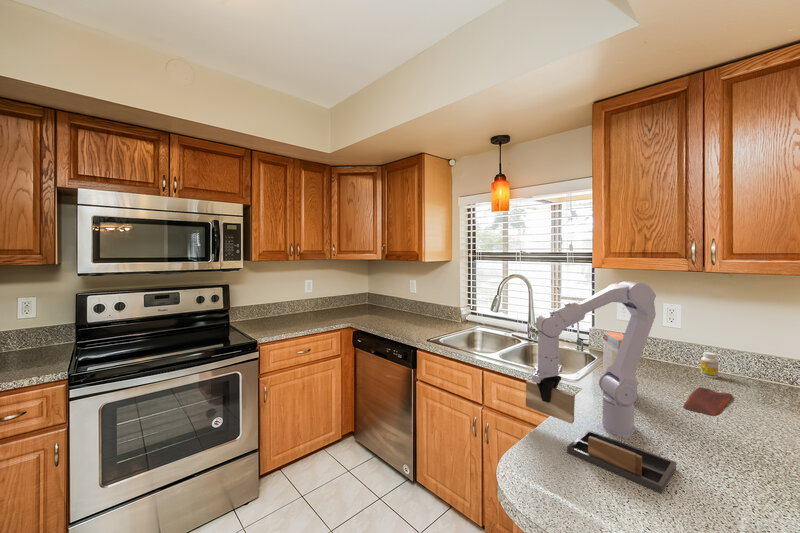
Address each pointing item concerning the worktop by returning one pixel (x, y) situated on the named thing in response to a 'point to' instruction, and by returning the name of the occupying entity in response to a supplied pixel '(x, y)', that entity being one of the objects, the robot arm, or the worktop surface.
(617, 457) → the oak offcuts
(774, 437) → the worktop surface
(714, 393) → the reddish brown cloth
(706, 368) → the supplement bottle
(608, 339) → the cracker box
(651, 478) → the rack
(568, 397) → the birch sheet
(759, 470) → the worktop surface
